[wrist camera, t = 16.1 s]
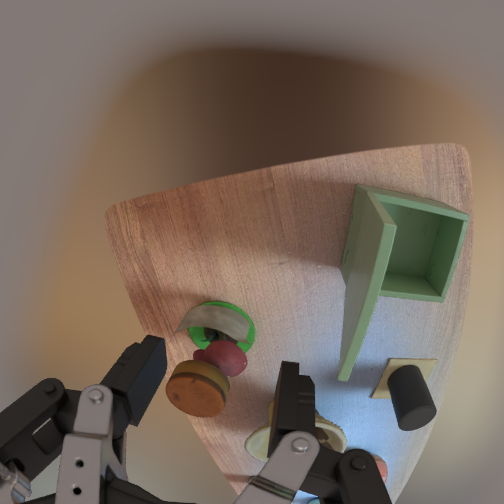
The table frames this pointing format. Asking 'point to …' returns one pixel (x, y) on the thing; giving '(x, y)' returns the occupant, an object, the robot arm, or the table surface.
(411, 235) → the green open box
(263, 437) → the bowl
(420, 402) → the dark grey cylinder
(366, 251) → the box lid
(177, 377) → the mushroom figurine
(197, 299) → the table surface
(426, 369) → the mat
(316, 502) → the penguin figurine
